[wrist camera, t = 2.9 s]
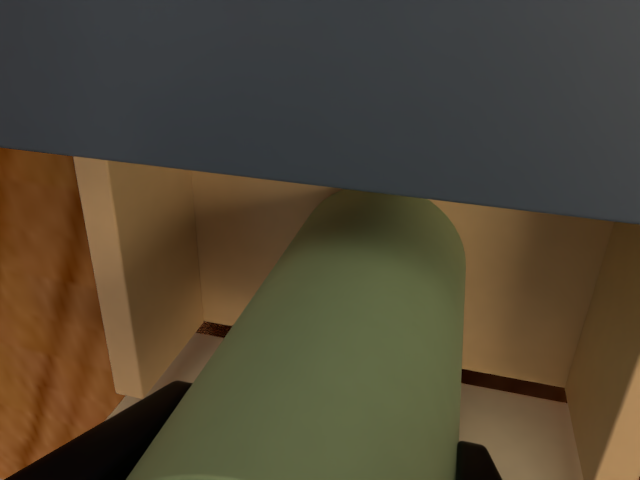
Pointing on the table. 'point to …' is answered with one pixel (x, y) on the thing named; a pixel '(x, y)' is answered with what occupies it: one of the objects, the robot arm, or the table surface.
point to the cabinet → (342, 94)
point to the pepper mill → (335, 358)
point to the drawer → (479, 307)
